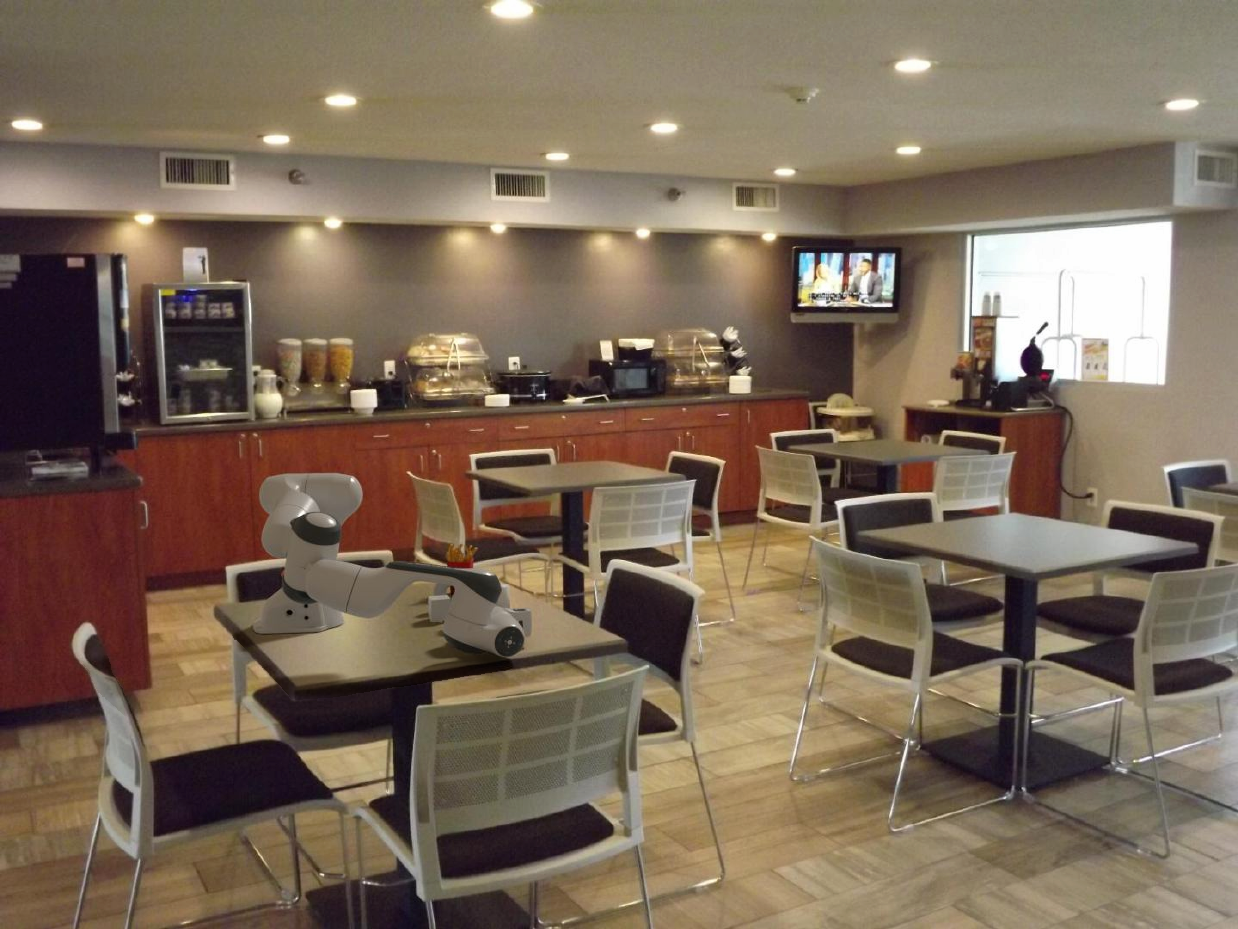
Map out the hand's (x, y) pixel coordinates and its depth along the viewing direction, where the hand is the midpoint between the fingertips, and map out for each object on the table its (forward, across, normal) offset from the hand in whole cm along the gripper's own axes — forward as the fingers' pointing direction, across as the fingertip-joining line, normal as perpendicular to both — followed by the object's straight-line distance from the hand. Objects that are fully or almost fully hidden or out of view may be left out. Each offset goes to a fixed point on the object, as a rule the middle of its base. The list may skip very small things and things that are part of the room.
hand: (484, 613), depth 287 cm
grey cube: (+20, -8, -6) cm, 22 cm away
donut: (+31, -3, -6) cm, 31 cm away
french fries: (+49, +3, -6) cm, 49 cm away
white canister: (+20, +8, -6) cm, 22 cm away
